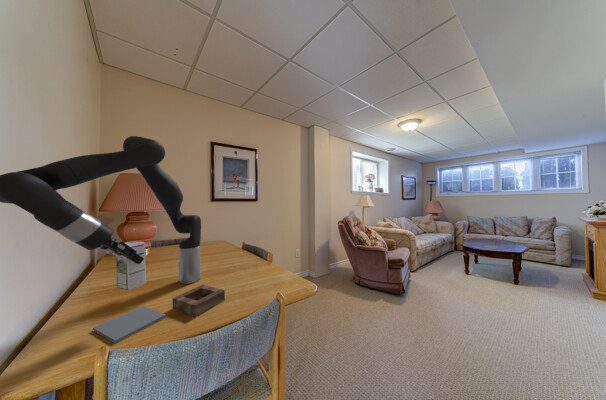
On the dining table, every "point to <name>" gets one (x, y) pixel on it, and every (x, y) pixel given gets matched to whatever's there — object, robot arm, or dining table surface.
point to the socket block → (195, 308)
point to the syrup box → (131, 268)
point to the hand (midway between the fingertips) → (135, 260)
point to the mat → (129, 324)
